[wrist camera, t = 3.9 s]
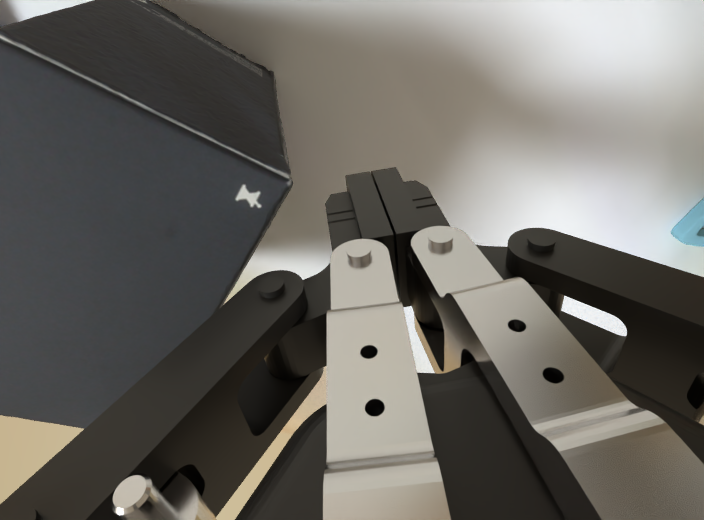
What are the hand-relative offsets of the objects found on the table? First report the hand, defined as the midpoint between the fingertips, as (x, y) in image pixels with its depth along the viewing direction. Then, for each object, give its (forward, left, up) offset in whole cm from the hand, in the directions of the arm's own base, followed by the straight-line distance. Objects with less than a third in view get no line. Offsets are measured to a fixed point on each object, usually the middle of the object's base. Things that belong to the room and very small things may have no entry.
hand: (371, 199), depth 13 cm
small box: (+8, 0, -8) cm, 11 cm away
